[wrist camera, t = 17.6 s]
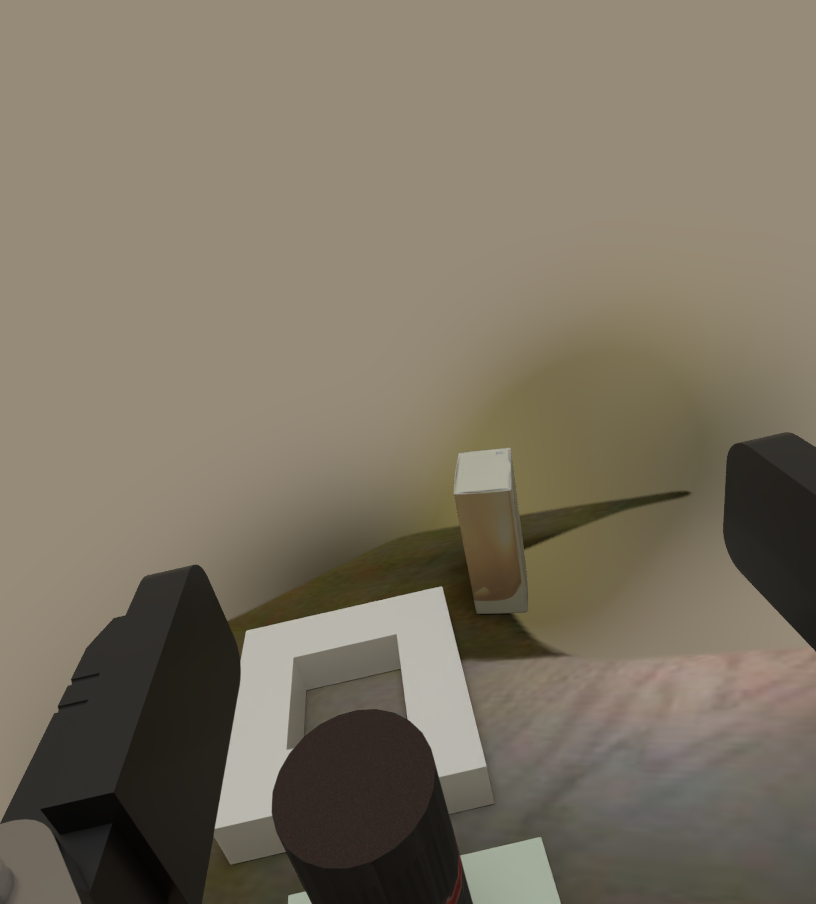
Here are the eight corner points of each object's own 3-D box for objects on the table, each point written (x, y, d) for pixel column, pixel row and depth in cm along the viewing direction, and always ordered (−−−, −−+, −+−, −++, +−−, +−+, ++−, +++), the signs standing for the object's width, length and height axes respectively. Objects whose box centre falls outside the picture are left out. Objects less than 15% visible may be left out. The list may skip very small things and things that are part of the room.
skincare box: (478, 567, 56) (457, 450, 50) (527, 564, 55) (511, 444, 49) (475, 618, 50) (451, 492, 45) (528, 615, 49) (511, 487, 44)
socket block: (449, 618, 51) (442, 586, 49) (494, 803, 36) (486, 766, 35) (259, 662, 50) (246, 630, 49) (230, 864, 36) (210, 830, 35)
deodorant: (340, 991, 29) (239, 796, 22) (423, 883, 32) (358, 685, 26) (433, 1106, 25) (344, 913, 18) (517, 969, 28) (469, 762, 22)
